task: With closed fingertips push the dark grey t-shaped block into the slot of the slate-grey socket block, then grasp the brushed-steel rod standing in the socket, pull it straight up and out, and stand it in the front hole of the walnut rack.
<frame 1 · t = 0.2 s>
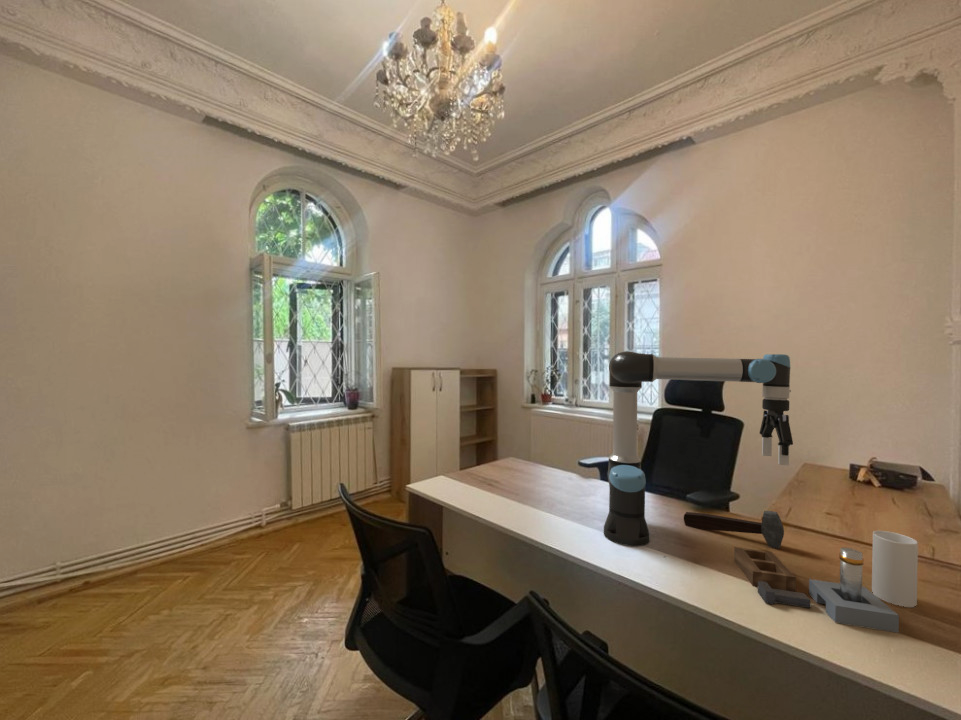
hand: (774, 460, 138), 28 cm above the table, fingers open, 13 cm apart
hammer: (730, 536, 142), on the table
socket block: (850, 612, 98), on the table
rod: (850, 581, 98), in the socket block
cup: (893, 598, 105), on the table
rack: (762, 574, 115), on the table
dark grey t-shaped block: (784, 595, 102), point 2 cm above the table, slide at 0.0 cm
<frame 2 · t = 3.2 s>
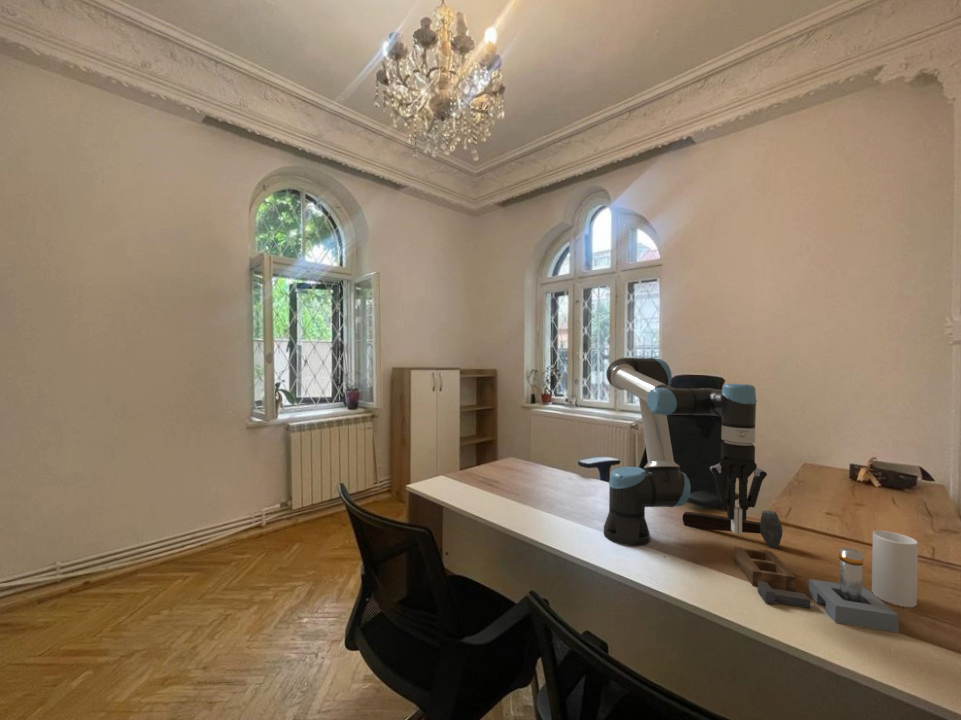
hand: (736, 531, 105), 16 cm above the table, fingers closed
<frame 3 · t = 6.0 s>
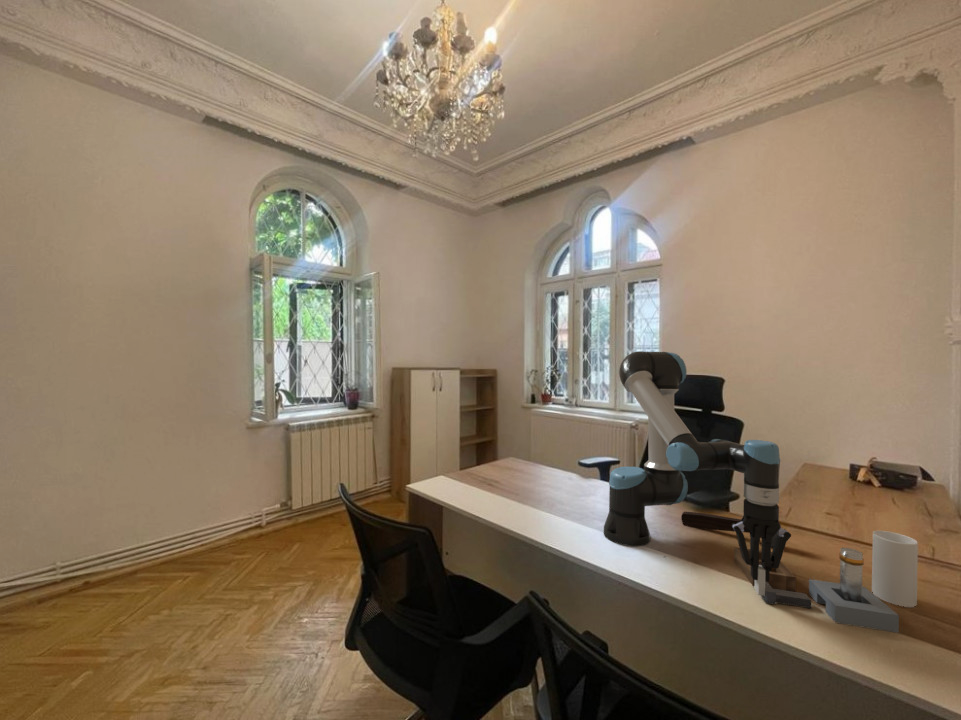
hand: (759, 592, 103), 2 cm above the table, fingers closed
dark grey t-shaped block: (785, 595, 102), point 2 cm above the table, slide at 0.2 cm, touching gripper
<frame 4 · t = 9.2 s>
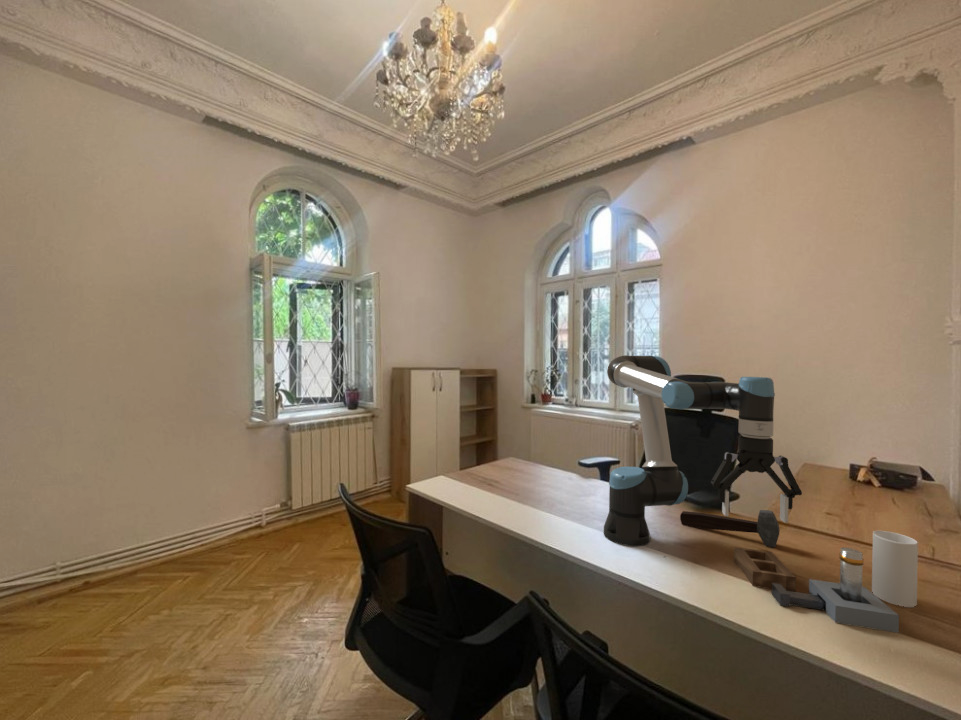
hand: (754, 517, 104), 21 cm above the table, fingers open, 13 cm apart
dark grey t-shaped block: (798, 597, 101), point 2 cm above the table, slide at 3.2 cm
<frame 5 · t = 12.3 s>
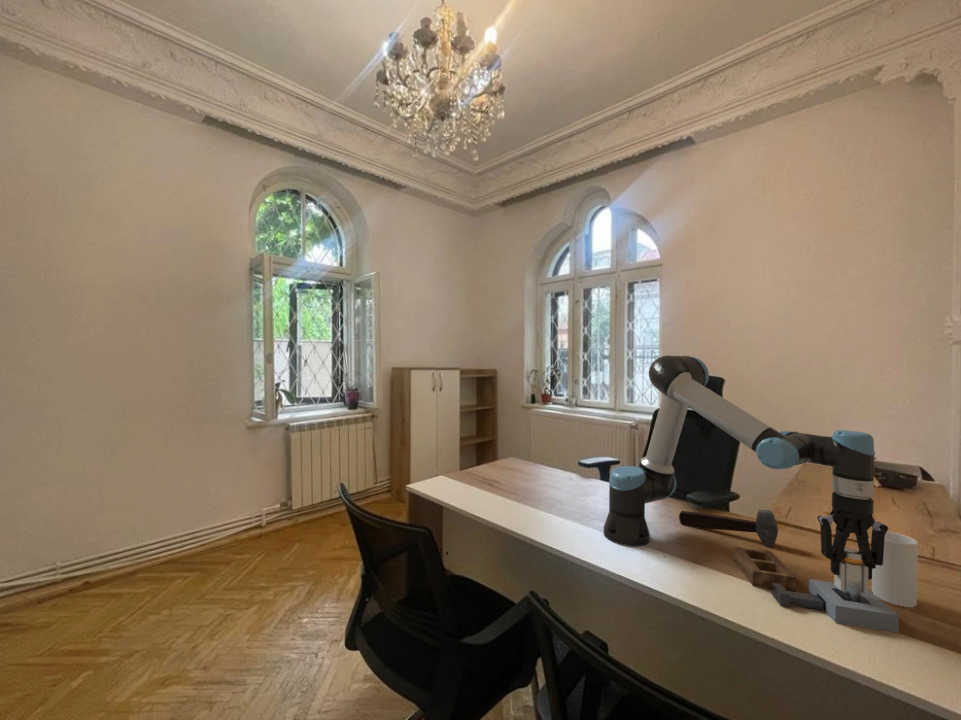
hand: (850, 589, 98), 6 cm above the table, fingers closed on rod, 4 cm apart
rod: (850, 581, 98), in the socket block, touching gripper
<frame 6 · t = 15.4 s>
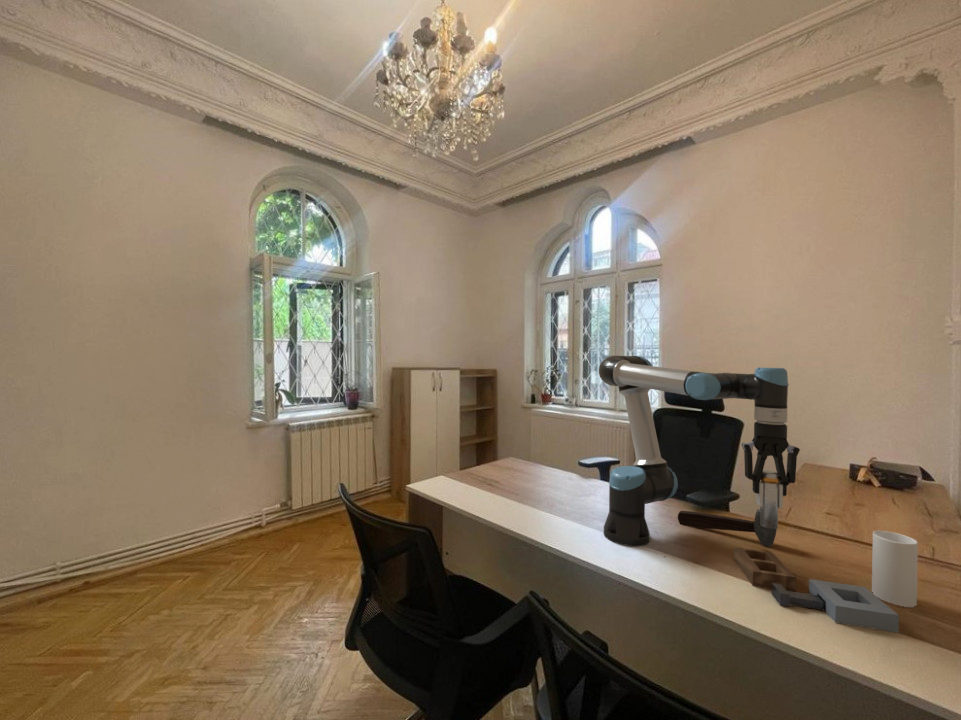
hand: (769, 505, 112), 21 cm above the table, fingers closed on rod, 4 cm apart
rod: (769, 499, 112), point 23 cm above the table, touching gripper
when the fingers open (7 cm above the table, at t = 18.7 s): rod drops 1 cm, resting in rack.
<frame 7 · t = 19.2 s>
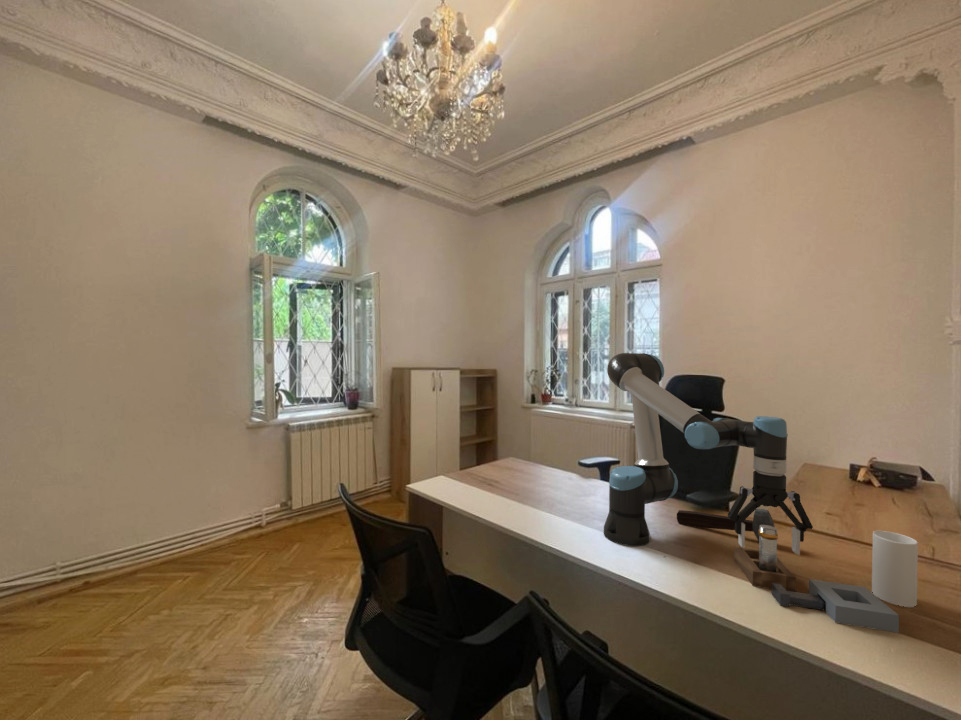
hand: (768, 549, 112), 9 cm above the table, fingers open, 12 cm apart
rod: (767, 554, 112), in the rack
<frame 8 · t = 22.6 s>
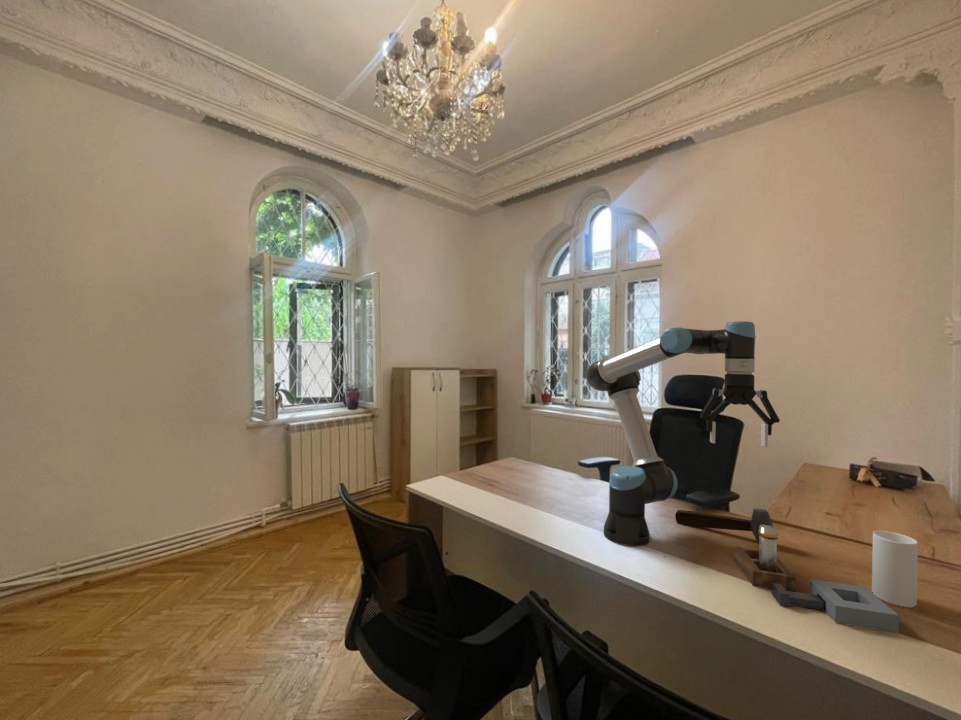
hand: (738, 444, 119), 37 cm above the table, fingers open, 13 cm apart
at the end: dark grey t-shaped block slide at 3.2 cm; rod 0.1 cm from the target spot on the rack, point 7.5 cm above the rack's base; rod tilted 0° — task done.
